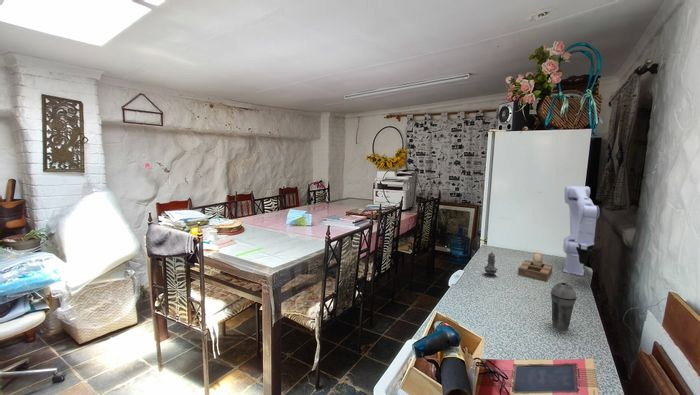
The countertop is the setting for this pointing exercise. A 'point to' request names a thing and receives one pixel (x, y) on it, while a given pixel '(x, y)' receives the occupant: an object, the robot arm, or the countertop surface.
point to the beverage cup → (562, 304)
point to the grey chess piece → (490, 266)
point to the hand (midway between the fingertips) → (583, 261)
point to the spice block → (535, 270)
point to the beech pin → (537, 259)
